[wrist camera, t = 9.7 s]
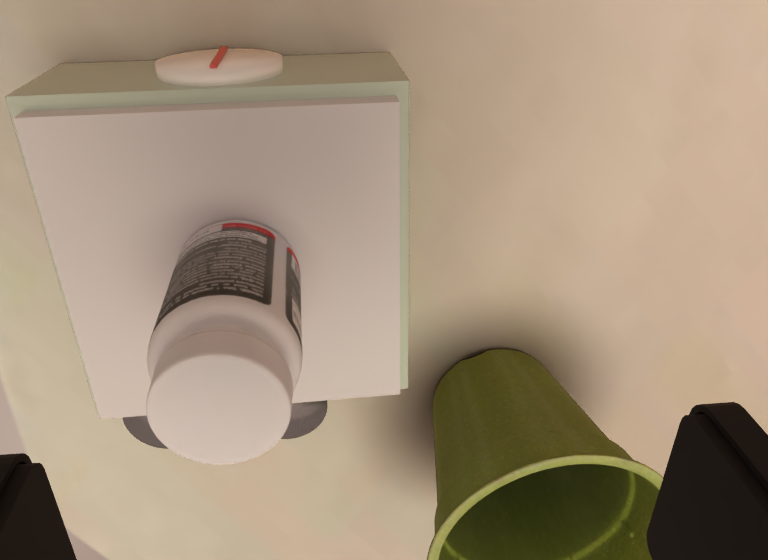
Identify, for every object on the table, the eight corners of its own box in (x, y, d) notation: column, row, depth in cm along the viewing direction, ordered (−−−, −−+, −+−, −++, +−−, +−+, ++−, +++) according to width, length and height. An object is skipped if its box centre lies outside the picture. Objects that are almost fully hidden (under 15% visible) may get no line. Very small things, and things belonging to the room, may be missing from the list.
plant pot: (394, 478, 41) (423, 650, 32) (394, 319, 36) (430, 470, 26) (574, 462, 43) (656, 624, 33) (602, 306, 37) (712, 445, 27)
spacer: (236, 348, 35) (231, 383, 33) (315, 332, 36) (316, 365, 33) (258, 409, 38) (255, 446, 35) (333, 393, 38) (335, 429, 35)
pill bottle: (150, 275, 25) (90, 420, 18) (232, 191, 24) (203, 311, 17) (246, 344, 27) (227, 500, 20) (326, 270, 26) (336, 408, 19)
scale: (56, 47, 27) (-14, 83, 21) (389, 36, 29) (413, 67, 22) (128, 339, 34) (91, 429, 28) (392, 319, 36) (411, 402, 30)
